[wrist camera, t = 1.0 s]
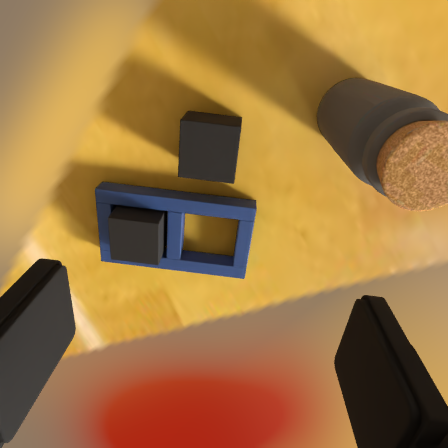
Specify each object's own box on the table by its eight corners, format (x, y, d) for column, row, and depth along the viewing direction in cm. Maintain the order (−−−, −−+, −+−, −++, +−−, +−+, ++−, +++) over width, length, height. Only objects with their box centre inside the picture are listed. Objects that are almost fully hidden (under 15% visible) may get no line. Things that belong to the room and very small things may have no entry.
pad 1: (121, 200, 35) (107, 217, 32) (167, 205, 35) (159, 223, 32) (123, 239, 38) (110, 259, 34) (166, 244, 38) (158, 265, 34)
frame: (102, 181, 34) (94, 188, 32) (256, 200, 34) (256, 208, 32) (107, 251, 39) (101, 261, 37) (244, 268, 38) (244, 279, 37)
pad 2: (187, 110, 30) (180, 119, 27) (241, 117, 30) (241, 126, 27) (185, 162, 33) (177, 177, 29) (235, 168, 33) (233, 183, 29)
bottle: (339, 157, 32) (404, 240, 18) (303, 109, 30) (347, 163, 16) (396, 116, 29) (516, 176, 16) (361, 61, 27) (466, 79, 14)
